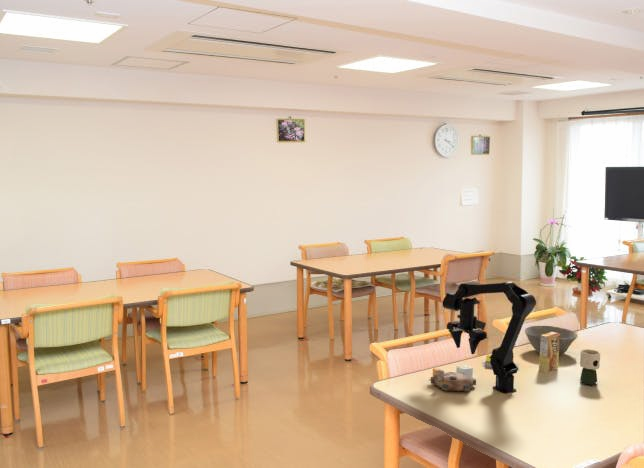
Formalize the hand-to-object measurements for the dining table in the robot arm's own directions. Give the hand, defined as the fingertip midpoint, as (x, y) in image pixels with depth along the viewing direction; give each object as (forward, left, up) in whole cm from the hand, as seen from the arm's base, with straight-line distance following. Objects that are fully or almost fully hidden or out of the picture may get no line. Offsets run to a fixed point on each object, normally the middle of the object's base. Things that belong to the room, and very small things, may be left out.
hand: (465, 350), depth 247 cm
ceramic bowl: (+10, -57, -11) cm, 59 cm away
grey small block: (0, 0, -11) cm, 11 cm away
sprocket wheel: (-7, +11, -11) cm, 17 cm away
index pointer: (+4, +11, -11) cm, 16 cm away
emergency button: (+5, -24, -12) cm, 27 cm away
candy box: (-7, -39, -11) cm, 41 cm away
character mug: (-26, -41, -11) cm, 50 cm away
